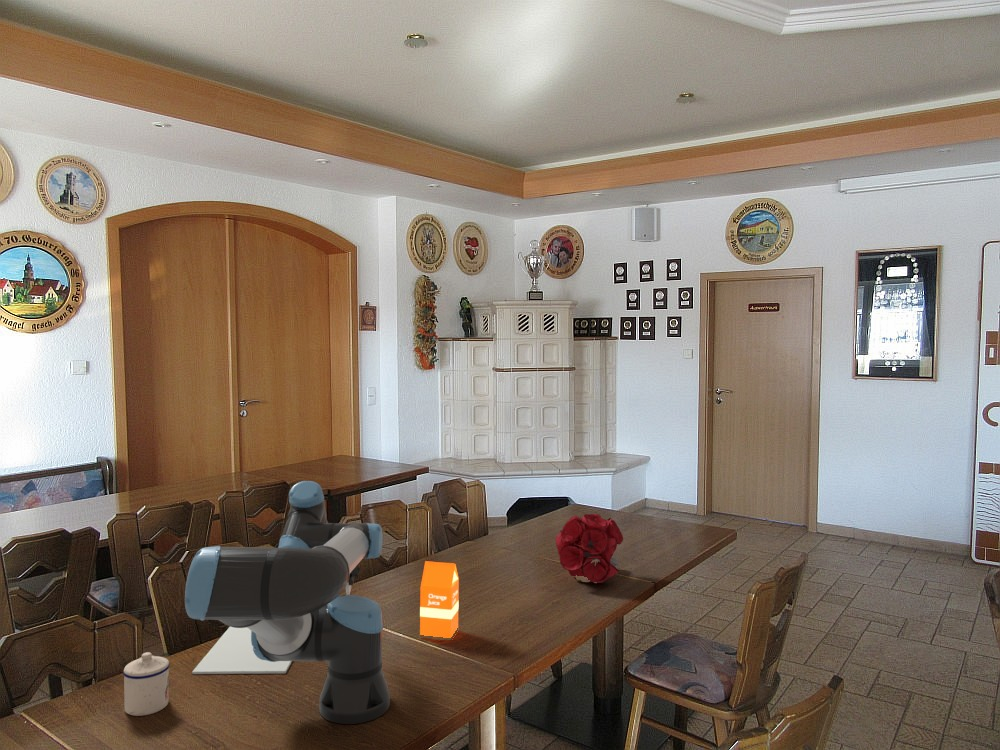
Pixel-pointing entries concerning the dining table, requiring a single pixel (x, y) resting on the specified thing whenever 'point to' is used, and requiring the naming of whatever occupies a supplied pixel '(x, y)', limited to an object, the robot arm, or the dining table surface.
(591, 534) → the bouquet
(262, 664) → the rubber mat
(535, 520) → the dining table surface
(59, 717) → the dining table surface
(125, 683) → the teacup with lid
